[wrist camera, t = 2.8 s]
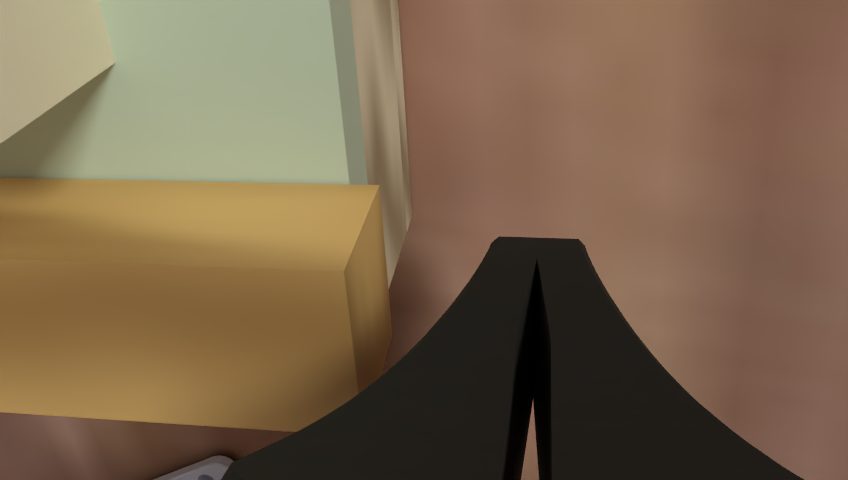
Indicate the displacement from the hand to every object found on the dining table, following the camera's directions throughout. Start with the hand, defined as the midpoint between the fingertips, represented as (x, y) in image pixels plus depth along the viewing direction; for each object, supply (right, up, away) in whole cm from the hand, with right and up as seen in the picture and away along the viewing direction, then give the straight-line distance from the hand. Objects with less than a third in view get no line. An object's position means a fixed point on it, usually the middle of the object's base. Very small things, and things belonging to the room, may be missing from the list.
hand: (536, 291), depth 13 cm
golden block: (-8, +1, +2) cm, 8 cm away
